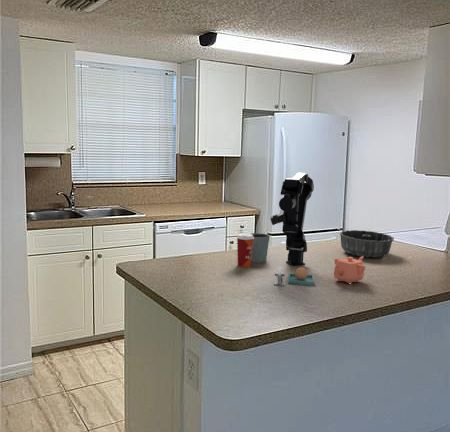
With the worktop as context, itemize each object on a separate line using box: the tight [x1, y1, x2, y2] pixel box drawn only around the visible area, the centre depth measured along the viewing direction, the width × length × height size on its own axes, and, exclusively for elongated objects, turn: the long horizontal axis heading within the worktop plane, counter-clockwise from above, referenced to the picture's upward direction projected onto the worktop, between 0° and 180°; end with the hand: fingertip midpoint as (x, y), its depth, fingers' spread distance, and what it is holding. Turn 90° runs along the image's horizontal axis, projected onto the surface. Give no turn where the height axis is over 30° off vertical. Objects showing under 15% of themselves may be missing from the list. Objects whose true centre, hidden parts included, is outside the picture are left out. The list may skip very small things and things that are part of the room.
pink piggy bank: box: [333, 256, 366, 284], centre depth 193 cm, size 14×12×10 cm
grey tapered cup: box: [250, 232, 271, 264], centre depth 222 cm, size 10×10×12 cm
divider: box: [273, 264, 286, 287], centre depth 192 cm, size 16×4×4 cm, turn 172°
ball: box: [294, 267, 309, 280], centre depth 192 cm, size 5×5×5 cm
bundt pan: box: [339, 229, 395, 258], centre depth 242 cm, size 26×26×10 cm
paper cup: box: [236, 233, 254, 268], centre depth 211 cm, size 8×8×14 cm
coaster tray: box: [287, 272, 316, 286], centre depth 192 cm, size 10×10×2 cm
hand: (289, 244), depth 203 cm, fingers open, 9 cm apart
